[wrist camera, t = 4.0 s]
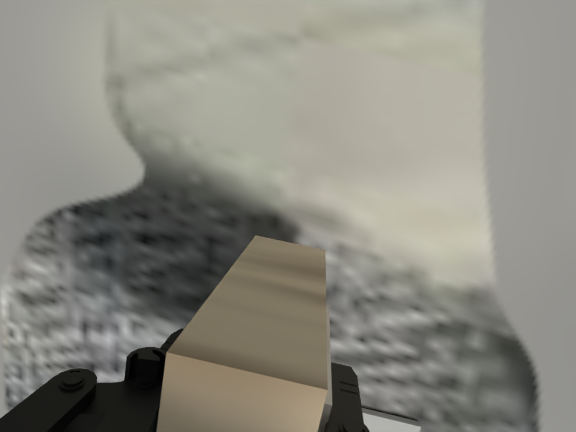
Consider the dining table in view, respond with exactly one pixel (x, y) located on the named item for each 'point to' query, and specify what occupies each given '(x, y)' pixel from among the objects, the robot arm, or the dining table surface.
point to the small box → (253, 348)
